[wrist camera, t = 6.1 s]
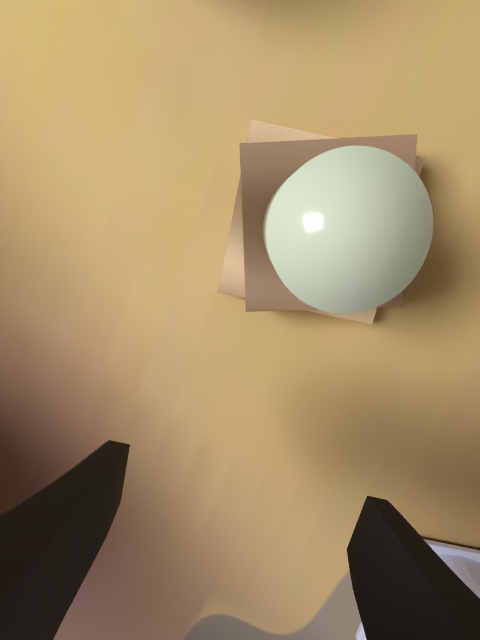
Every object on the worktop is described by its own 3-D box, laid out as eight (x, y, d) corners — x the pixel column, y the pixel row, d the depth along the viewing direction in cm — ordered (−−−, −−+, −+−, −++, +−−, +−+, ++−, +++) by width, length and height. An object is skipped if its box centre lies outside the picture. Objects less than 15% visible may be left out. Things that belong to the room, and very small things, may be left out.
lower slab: (360, 314, 21) (371, 324, 19) (221, 285, 21) (217, 292, 19) (407, 163, 19) (425, 158, 17) (251, 129, 18) (251, 119, 16)
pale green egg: (367, 293, 16) (410, 322, 12) (255, 280, 16) (258, 303, 12) (393, 173, 15) (453, 156, 11) (271, 158, 15) (281, 135, 11)
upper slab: (387, 296, 18) (402, 306, 17) (246, 301, 19) (245, 311, 17) (398, 143, 16) (417, 134, 15) (241, 151, 17) (239, 143, 15)
